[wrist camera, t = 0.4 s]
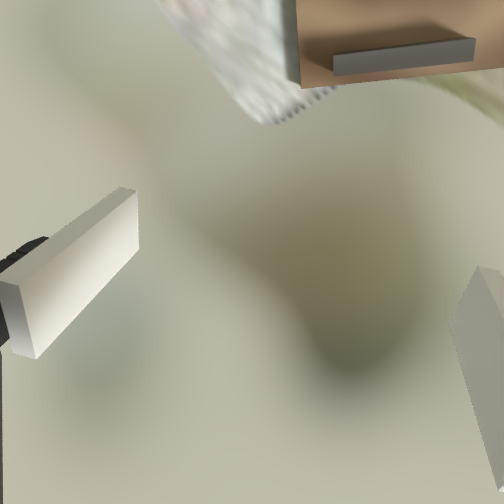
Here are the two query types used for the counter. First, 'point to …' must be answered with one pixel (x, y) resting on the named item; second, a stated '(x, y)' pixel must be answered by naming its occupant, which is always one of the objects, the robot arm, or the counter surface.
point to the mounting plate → (396, 39)
